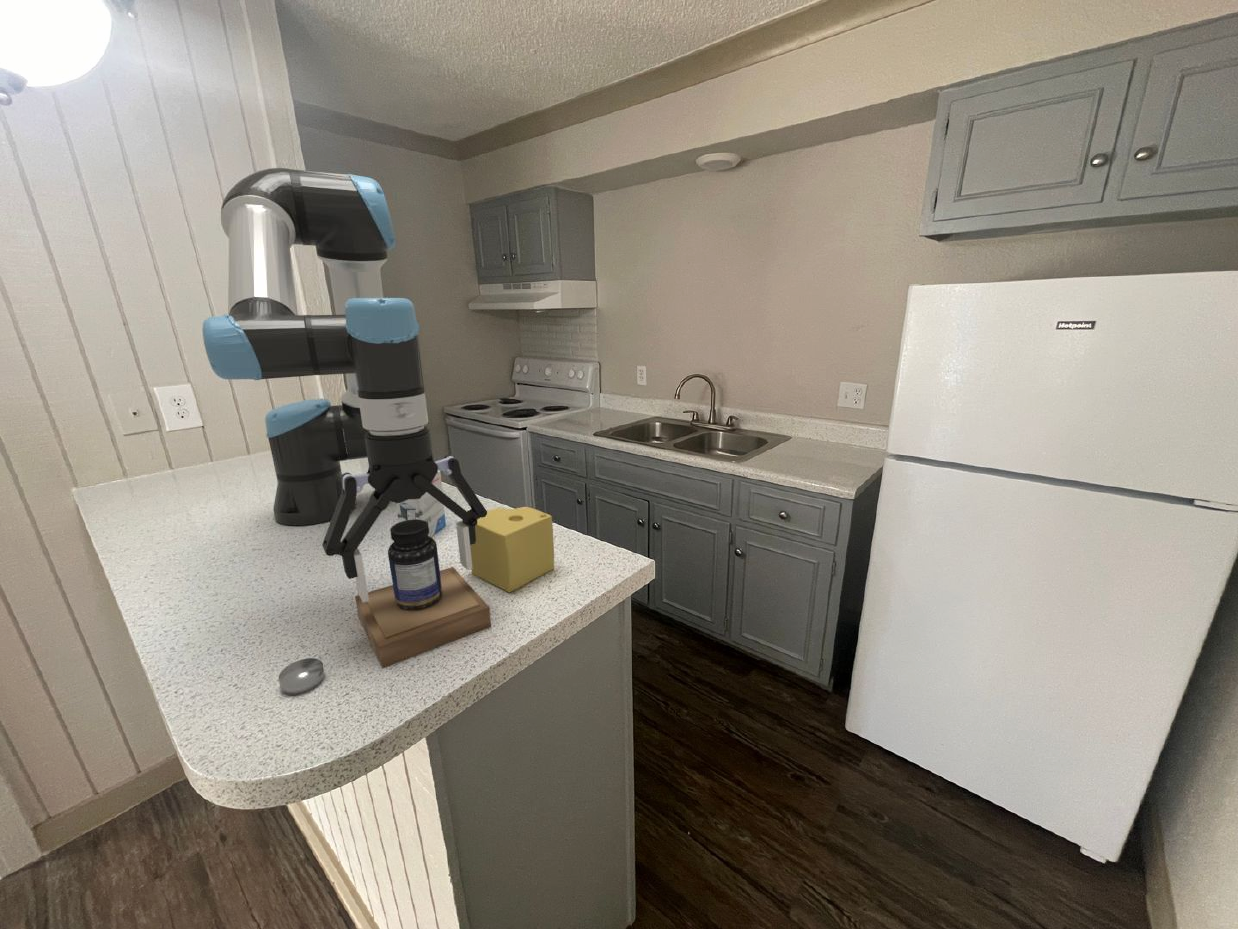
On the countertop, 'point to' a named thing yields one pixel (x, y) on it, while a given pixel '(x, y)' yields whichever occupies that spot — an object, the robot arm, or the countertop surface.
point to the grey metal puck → (301, 676)
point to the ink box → (424, 509)
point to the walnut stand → (422, 619)
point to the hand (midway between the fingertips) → (417, 581)
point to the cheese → (513, 547)
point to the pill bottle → (414, 565)
